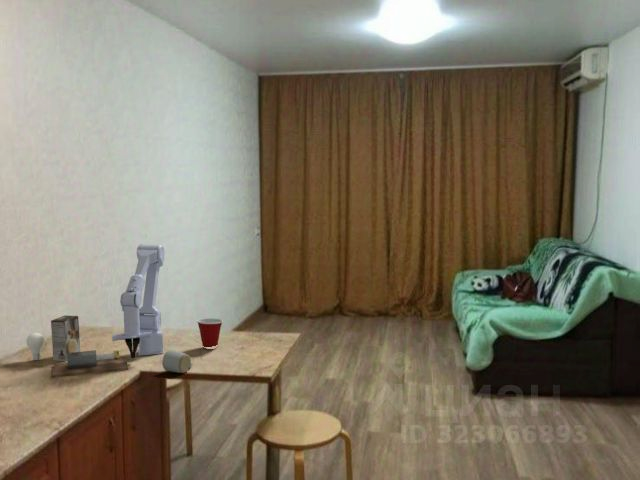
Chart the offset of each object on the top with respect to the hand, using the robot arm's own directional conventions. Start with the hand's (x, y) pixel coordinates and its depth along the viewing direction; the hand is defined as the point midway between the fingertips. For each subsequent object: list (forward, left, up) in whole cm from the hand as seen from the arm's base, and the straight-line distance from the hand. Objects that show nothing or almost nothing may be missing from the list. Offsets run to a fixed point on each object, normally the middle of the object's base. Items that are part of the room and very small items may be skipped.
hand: (133, 357), depth 239 cm
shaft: (+13, 0, 0) cm, 13 cm away
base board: (+15, 0, -2) cm, 15 cm away
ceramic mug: (-15, +14, -3) cm, 21 cm away
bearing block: (+18, 0, -2) cm, 18 cm away
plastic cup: (-32, -11, -3) cm, 34 cm away
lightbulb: (+35, -17, -3) cm, 39 cm away
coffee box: (+24, -17, -3) cm, 30 cm away
